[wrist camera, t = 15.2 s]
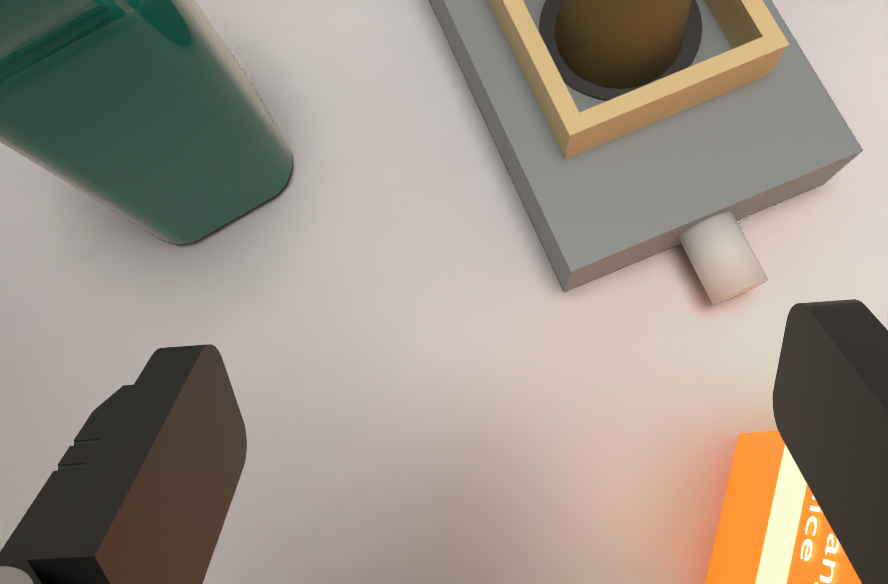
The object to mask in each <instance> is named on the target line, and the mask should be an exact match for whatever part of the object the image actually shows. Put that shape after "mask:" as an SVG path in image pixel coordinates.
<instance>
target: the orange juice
mask: <svg viewBox="0 0 888 584" xmlns="http://www.w3.org/2000/svg"><path fill="white" fill-rule="evenodd" d="M705 584H862V583H861V581H860V580H859V578H858V576H857V574H856V572H855V570H854V569H853V567H852V565H851V563H850V561H849V560H848V558H847V556H846V554H845V552H844V550H843V549H842V547H841V545H840V543H839V541H838V540H837V538H836V536H835V534H834V532H833V530H832V529H831V527H830V525H829V523H828V521H827V520H826V518H825V516H824V514H823V512H822V510H821V509H820V507H819V505H818V503H817V501H816V500H815V498H814V496H813V494H812V492H811V490H810V489H809V487H808V485H807V483H806V481H805V480H804V478H803V476H802V474H801V472H800V471H799V469H798V467H797V465H796V463H795V461H794V460H793V458H792V456H791V454H790V452H789V451H788V449H787V447H786V445H785V443H784V441H783V440H782V438H781V436H780V434H779V431H767V432H755V433H743V434H739V438H738V442H737V446H736V451H735V455H734V460H733V464H732V468H731V473H730V477H729V482H728V486H727V490H726V495H725V499H724V504H723V508H722V512H721V517H720V521H719V526H718V530H717V534H716V539H715V543H714V548H713V552H712V557H711V561H710V565H709V570H708V574H707V579H706V583H705Z"/></svg>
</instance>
